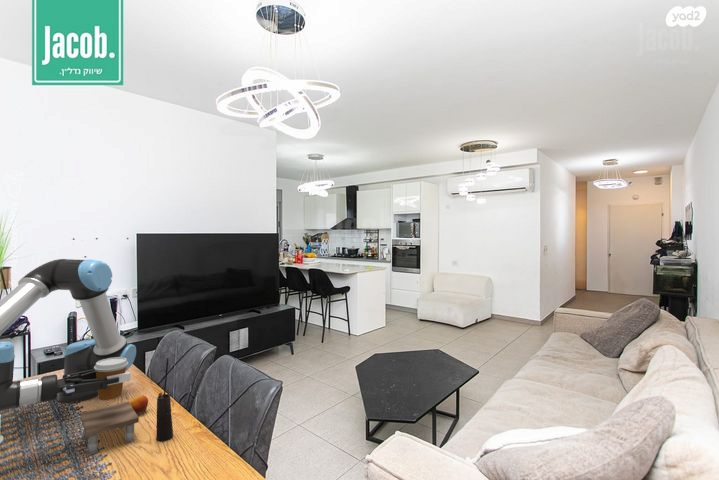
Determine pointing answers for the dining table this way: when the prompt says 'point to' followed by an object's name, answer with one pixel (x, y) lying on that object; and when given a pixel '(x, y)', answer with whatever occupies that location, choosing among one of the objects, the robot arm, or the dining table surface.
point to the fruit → (139, 403)
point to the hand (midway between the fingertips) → (127, 372)
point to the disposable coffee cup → (109, 369)
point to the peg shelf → (108, 423)
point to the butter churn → (164, 415)
